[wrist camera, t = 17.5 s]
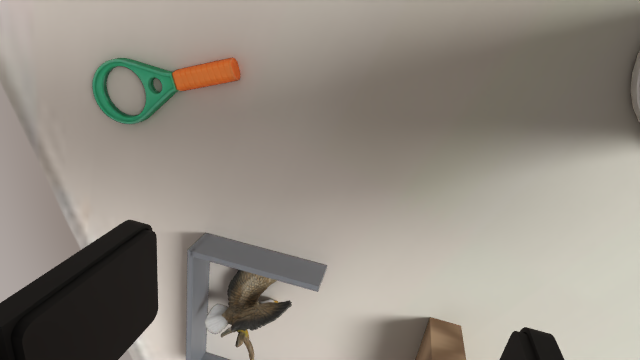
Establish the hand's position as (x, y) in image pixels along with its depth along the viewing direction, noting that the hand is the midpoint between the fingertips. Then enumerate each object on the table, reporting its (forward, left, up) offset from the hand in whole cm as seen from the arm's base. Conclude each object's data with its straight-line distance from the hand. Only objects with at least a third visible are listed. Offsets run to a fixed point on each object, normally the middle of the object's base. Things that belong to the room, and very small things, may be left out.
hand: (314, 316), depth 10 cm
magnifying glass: (+20, +1, -25) cm, 32 cm away
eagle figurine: (+9, +21, -25) cm, 34 cm away
